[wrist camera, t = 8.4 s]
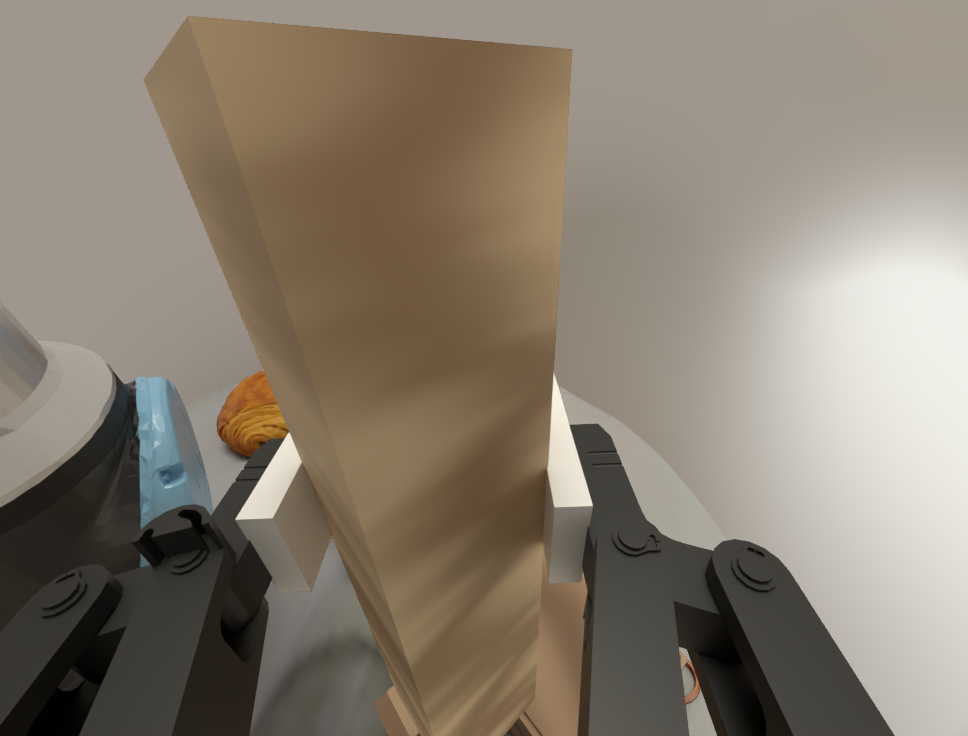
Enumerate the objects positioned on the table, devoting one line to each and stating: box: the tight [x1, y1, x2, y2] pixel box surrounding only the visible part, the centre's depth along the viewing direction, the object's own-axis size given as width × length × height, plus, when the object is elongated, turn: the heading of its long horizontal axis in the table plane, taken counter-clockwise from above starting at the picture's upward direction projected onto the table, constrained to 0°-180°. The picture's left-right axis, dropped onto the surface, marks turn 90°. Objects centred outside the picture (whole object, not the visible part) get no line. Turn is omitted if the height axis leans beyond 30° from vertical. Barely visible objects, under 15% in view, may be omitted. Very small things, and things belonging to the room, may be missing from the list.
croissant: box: [217, 371, 289, 457], centre depth 53 cm, size 14×16×8 cm
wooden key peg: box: [144, 16, 572, 736], centre depth 10 cm, size 4×4×20 cm
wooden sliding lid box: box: [373, 549, 688, 736], centre depth 25 cm, size 16×11×5 cm
